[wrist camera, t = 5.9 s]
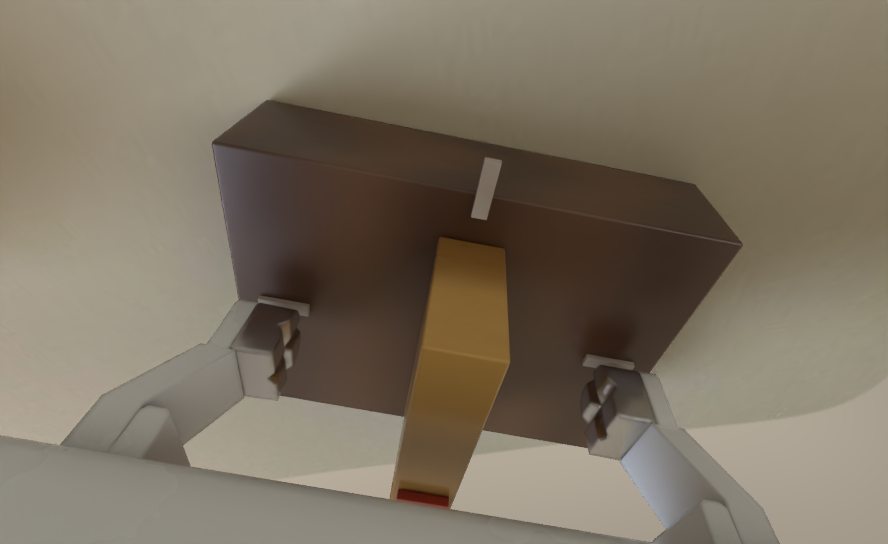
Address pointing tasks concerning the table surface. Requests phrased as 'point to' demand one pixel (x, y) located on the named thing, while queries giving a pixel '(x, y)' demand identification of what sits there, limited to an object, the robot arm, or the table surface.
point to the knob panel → (467, 219)
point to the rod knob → (453, 371)
